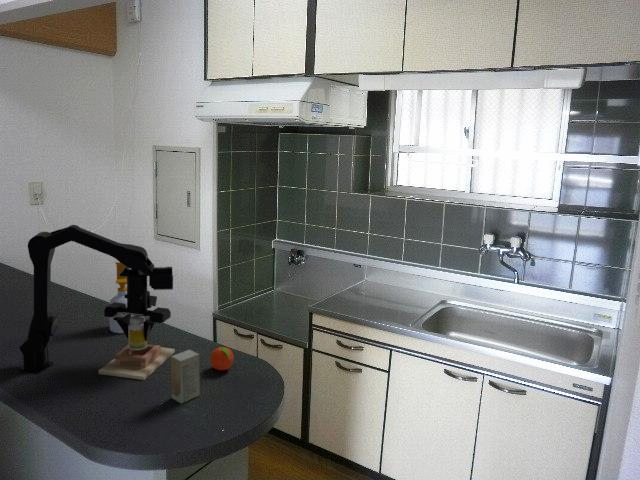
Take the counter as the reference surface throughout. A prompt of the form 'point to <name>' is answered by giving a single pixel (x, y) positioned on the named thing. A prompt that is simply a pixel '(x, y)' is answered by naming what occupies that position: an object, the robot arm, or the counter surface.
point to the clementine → (221, 358)
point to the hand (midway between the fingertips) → (137, 339)
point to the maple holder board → (136, 362)
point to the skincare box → (185, 376)
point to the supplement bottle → (136, 333)
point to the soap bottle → (119, 297)
